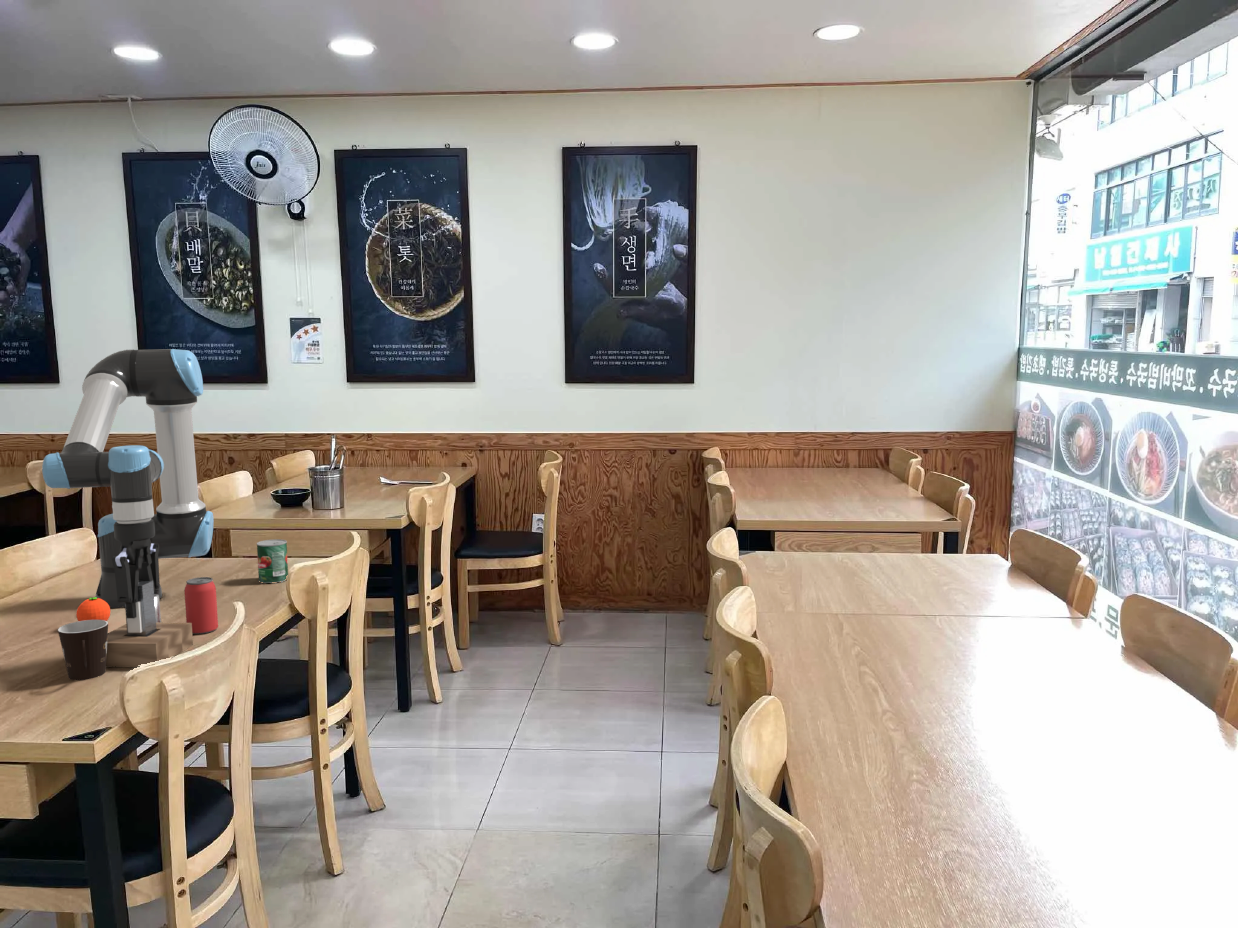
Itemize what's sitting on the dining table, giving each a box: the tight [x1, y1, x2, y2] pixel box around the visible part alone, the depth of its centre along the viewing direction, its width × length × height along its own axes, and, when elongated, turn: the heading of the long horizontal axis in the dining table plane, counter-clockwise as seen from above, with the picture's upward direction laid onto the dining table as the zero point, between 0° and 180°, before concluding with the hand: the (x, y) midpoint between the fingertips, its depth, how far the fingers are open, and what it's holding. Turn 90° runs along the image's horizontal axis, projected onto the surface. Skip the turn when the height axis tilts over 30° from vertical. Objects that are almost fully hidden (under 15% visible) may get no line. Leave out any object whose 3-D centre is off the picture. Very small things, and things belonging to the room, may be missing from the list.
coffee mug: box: [57, 620, 109, 681], centre depth 177 cm, size 12×9×10 cm
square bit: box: [124, 581, 157, 637], centre depth 189 cm, size 4×4×12 cm
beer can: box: [183, 576, 219, 635], centre depth 206 cm, size 7×7×12 cm
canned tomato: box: [256, 538, 289, 583], centre depth 251 cm, size 8×8×11 cm
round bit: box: [154, 594, 162, 622], centre depth 199 cm, size 4×4×10 cm
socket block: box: [106, 621, 194, 668], centre depth 190 cm, size 14×14×5 cm
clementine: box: [75, 597, 111, 622], centre depth 209 cm, size 8×7×7 cm
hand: (141, 628), depth 189 cm, fingers closed on square bit, 4 cm apart
